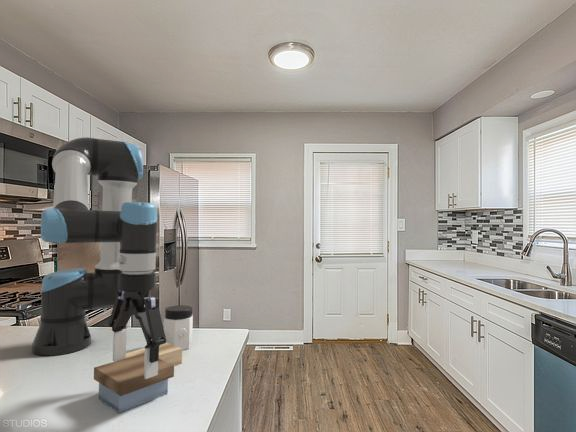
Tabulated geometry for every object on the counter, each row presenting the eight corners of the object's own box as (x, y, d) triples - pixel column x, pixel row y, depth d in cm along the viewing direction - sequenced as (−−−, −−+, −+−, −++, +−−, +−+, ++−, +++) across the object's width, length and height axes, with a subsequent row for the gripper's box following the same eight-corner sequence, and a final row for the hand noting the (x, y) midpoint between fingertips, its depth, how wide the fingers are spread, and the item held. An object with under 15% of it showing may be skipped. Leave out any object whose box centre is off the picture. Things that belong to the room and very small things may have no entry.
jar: (166, 353, 104) (167, 312, 104) (159, 345, 111) (160, 307, 111) (196, 348, 109) (197, 309, 109) (188, 340, 116) (189, 304, 116)
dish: (98, 399, 76) (99, 380, 77) (146, 382, 85) (146, 365, 85) (118, 413, 71) (119, 393, 71) (167, 393, 80) (168, 375, 80)
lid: (93, 379, 77) (94, 367, 77) (145, 363, 87) (145, 352, 87) (120, 396, 70) (121, 383, 70) (173, 376, 79) (174, 365, 79)
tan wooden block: (116, 371, 91) (117, 355, 91) (165, 356, 102) (165, 342, 102) (132, 380, 86) (133, 363, 86) (181, 363, 97) (182, 348, 97)
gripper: (94, 267, 84) (91, 357, 83) (152, 280, 68) (148, 391, 68) (125, 264, 89) (123, 349, 89) (185, 276, 74) (182, 378, 74)
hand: (134, 367), depth 79 cm, fingers open, 13 cm apart
